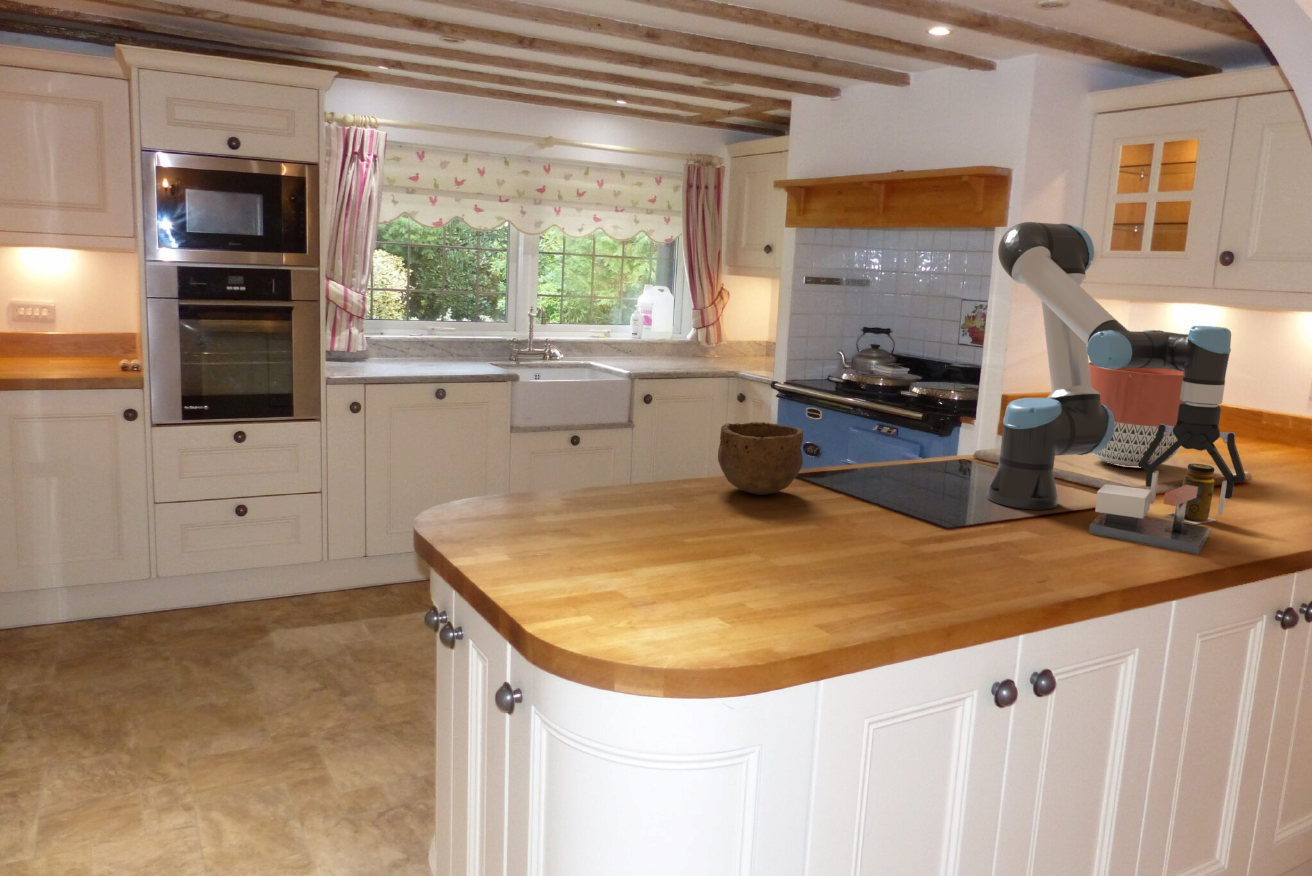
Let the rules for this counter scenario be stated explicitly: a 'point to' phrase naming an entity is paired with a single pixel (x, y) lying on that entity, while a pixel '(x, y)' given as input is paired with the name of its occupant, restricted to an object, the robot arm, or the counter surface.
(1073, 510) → the counter surface
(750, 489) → the bowl
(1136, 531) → the latch plate
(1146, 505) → the cover
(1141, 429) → the planter
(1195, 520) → the condiment
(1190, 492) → the t key
